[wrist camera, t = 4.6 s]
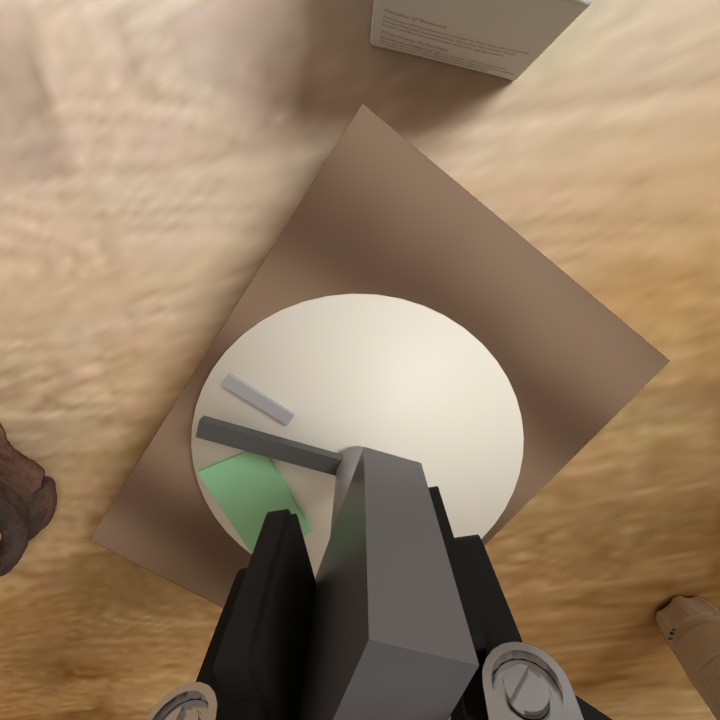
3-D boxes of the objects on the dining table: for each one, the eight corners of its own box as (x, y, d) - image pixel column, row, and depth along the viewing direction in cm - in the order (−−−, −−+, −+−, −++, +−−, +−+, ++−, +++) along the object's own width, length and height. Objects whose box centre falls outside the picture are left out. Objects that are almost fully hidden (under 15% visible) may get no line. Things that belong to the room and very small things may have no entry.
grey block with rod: (220, 347, 13) (-42, 543, 5) (403, 402, 14) (479, 665, 5) (189, 487, 15) (-46, 824, 6) (353, 530, 15) (348, 889, 7)
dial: (312, 214, 12) (310, 212, 12) (591, 423, 15) (597, 428, 14) (136, 489, 15) (130, 495, 15) (389, 626, 18) (390, 635, 17)
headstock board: (361, 131, 14) (362, 103, 11) (616, 340, 17) (670, 360, 14) (129, 495, 19) (89, 540, 16) (355, 616, 21) (354, 674, 19)
